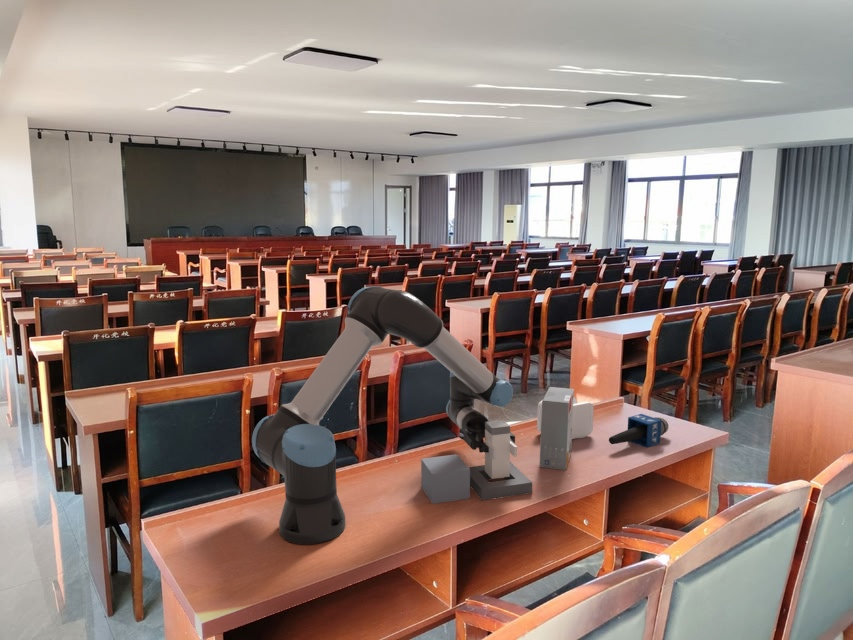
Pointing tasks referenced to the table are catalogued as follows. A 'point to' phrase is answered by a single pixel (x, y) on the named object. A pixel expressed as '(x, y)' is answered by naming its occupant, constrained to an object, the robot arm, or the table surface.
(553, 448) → the hard drive box
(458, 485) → the stand
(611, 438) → the microphone
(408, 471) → the table surface
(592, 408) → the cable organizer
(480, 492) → the socket block
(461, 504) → the table surface
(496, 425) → the plug
